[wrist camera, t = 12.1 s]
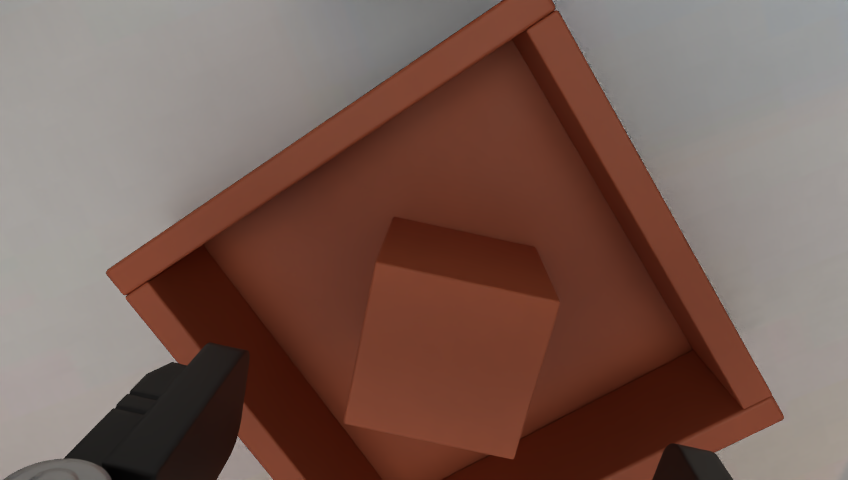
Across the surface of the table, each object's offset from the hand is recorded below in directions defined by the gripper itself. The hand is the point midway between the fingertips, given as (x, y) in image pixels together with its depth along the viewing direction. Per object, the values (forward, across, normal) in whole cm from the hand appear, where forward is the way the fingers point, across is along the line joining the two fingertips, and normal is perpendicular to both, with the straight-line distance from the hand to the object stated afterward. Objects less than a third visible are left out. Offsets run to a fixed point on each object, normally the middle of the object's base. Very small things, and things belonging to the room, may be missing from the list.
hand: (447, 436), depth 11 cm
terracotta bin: (+8, 0, 0) cm, 8 cm away
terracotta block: (+8, 0, 0) cm, 8 cm away
